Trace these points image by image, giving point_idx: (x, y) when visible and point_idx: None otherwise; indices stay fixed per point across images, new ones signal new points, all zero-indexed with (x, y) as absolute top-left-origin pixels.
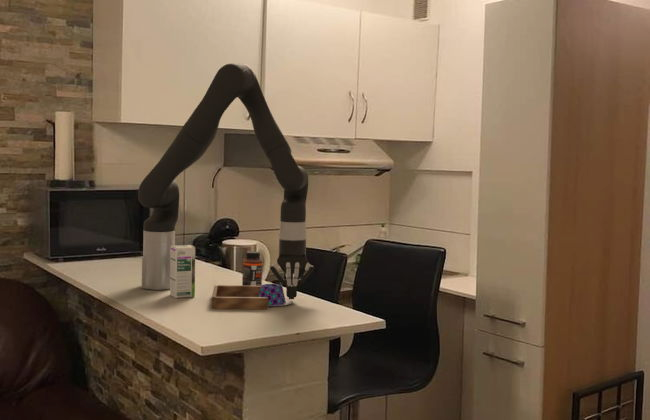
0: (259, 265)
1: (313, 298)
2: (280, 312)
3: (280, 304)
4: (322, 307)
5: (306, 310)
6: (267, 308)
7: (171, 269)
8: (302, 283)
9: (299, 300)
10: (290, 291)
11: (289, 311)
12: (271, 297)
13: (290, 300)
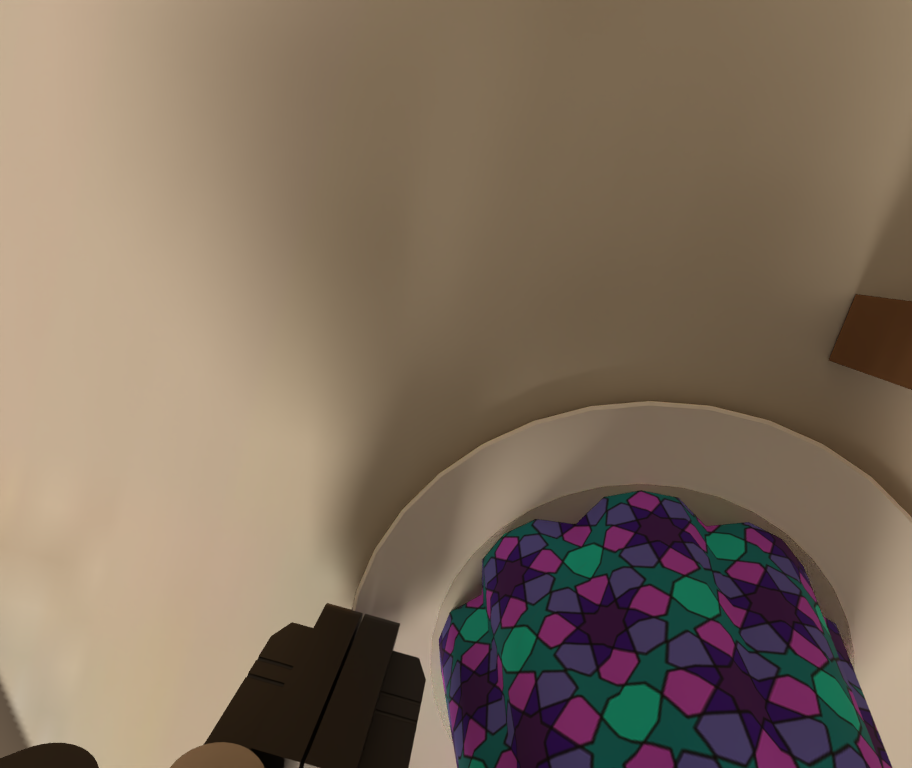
0: None
1: None
2: (746, 38)
3: (560, 525)
4: (31, 247)
5: (299, 100)
6: (870, 299)
7: None
8: (41, 749)
9: None
10: (356, 694)
11: (576, 83)
12: (730, 605)
13: None
